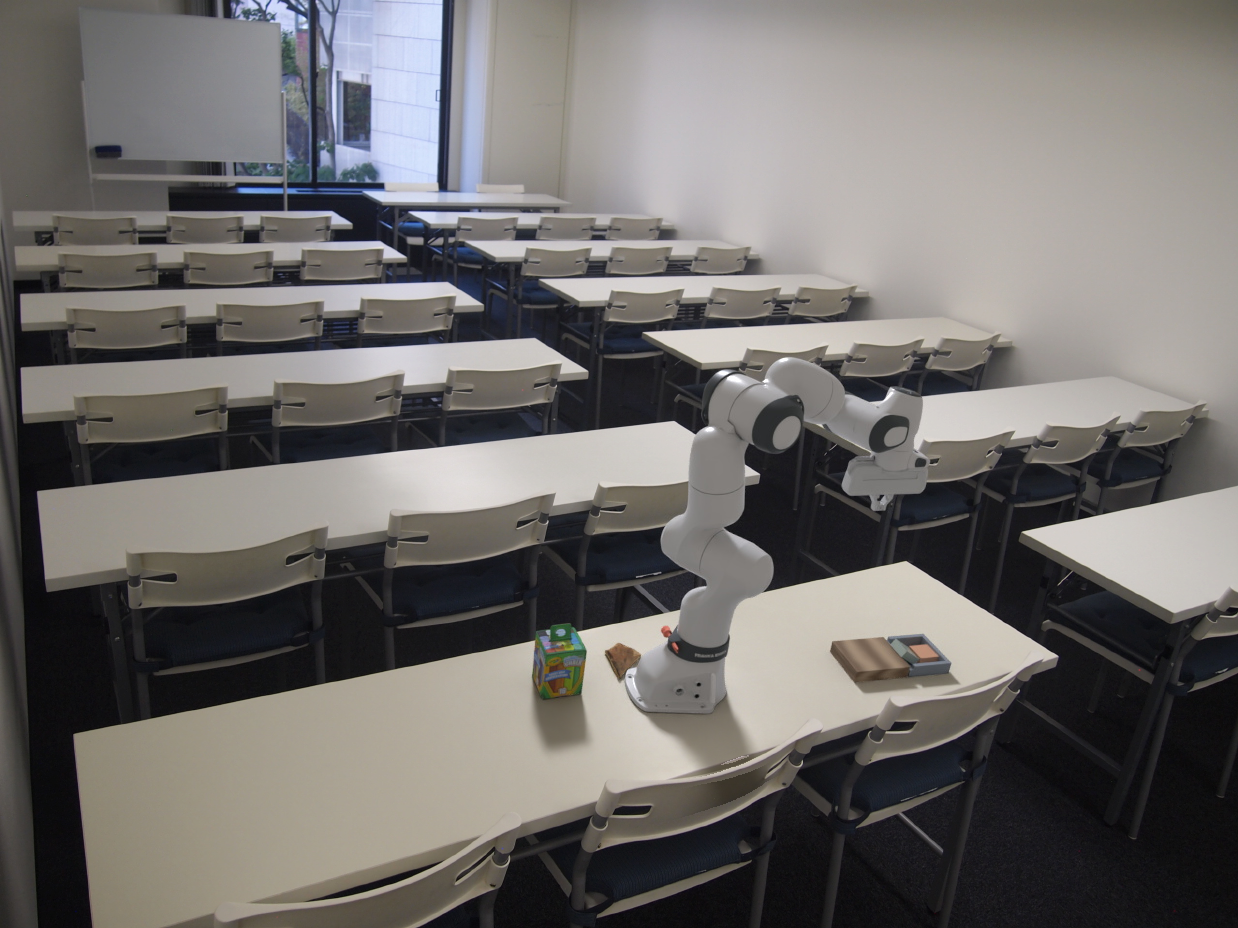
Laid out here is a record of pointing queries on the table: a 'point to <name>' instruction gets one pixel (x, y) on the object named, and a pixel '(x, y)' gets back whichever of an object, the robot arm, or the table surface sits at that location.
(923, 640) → the tray
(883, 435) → the robot arm
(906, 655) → the sage tile
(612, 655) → the shard
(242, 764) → the table surface
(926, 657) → the terracotta tile
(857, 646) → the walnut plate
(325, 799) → the table surface
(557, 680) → the chalk box
